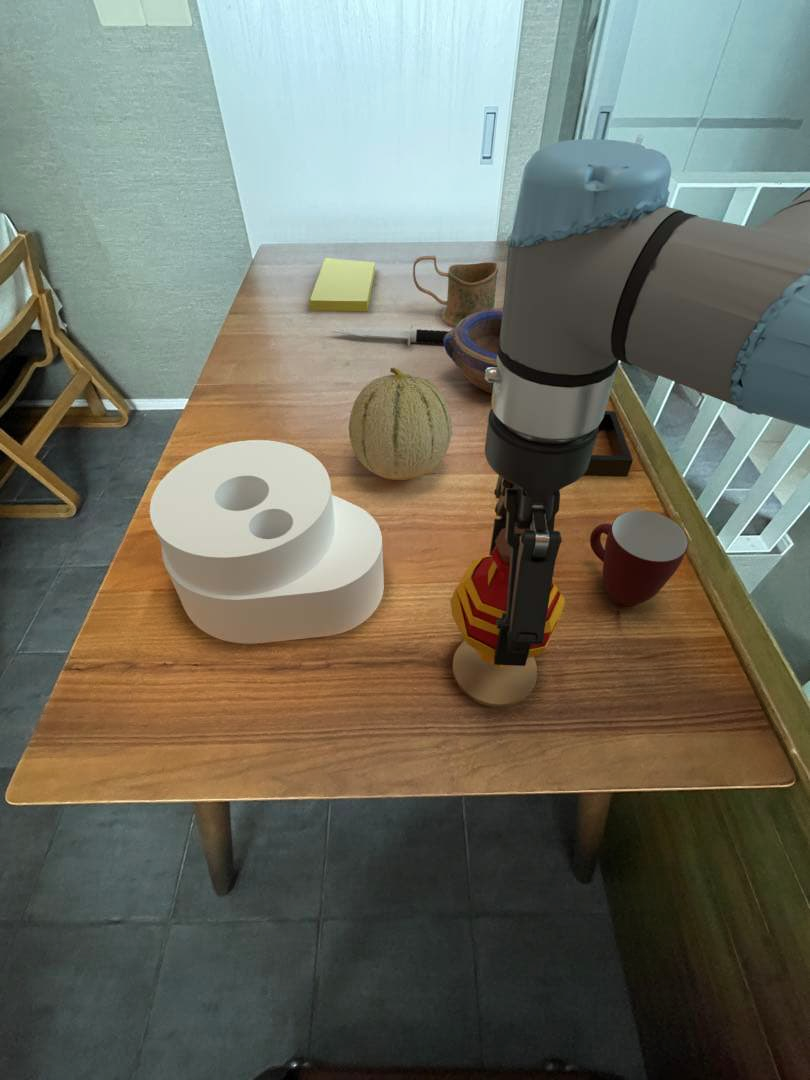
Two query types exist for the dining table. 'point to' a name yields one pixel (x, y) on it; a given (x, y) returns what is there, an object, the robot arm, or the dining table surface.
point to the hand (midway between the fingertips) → (505, 611)
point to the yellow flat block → (343, 286)
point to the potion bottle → (494, 602)
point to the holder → (622, 456)
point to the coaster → (492, 678)
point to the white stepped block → (266, 545)
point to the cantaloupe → (400, 426)
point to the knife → (400, 334)
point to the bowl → (475, 345)
